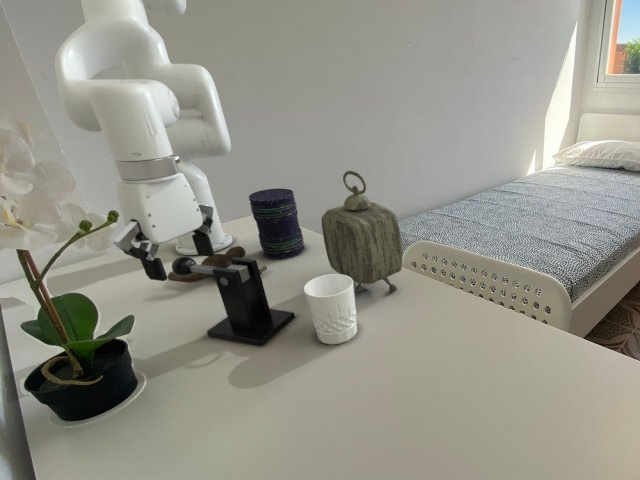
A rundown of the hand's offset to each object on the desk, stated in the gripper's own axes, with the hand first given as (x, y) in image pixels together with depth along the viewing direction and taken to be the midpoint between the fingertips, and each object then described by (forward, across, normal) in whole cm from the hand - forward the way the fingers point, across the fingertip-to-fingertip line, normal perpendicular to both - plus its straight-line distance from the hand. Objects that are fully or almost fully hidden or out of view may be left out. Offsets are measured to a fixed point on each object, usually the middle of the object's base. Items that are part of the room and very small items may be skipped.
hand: (184, 266), depth 72 cm
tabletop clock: (+11, -18, +24) cm, 32 cm away
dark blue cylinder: (+11, -30, -5) cm, 33 cm away
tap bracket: (+11, 0, +11) cm, 15 cm away
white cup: (+12, -2, +27) cm, 29 cm away
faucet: (+11, -16, -8) cm, 21 cm away
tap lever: (+2, 0, +5) cm, 5 cm away
